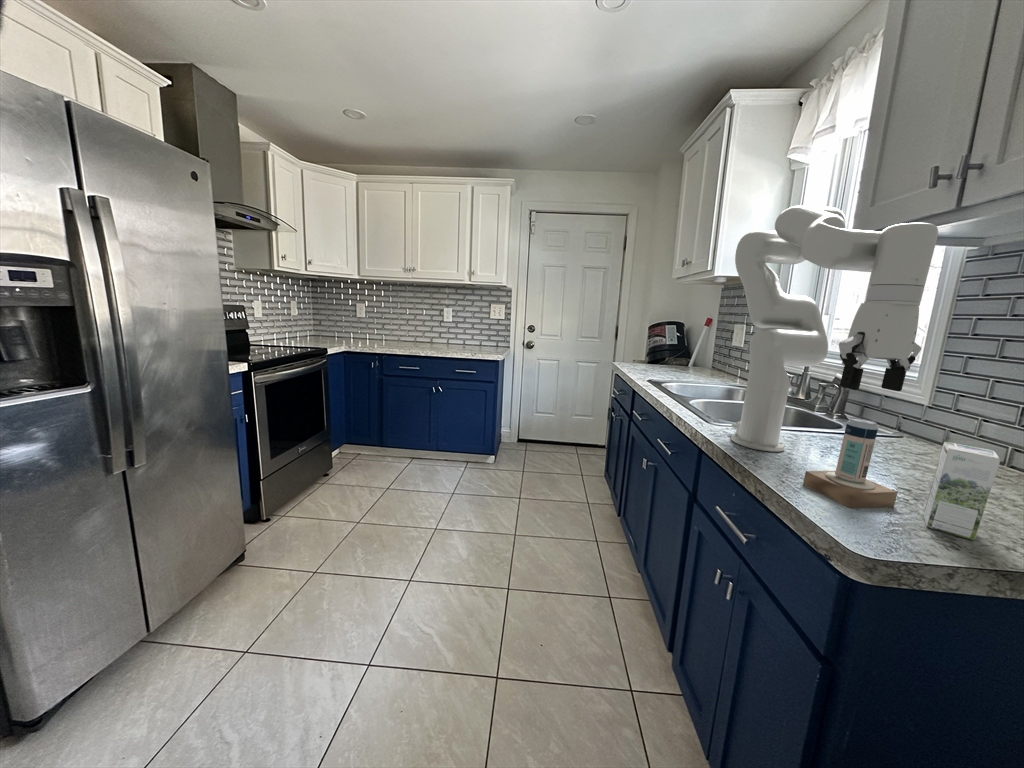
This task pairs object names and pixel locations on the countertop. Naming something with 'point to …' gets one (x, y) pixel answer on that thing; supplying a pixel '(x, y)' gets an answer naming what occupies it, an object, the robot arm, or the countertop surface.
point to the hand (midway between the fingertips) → (870, 389)
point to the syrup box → (960, 489)
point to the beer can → (856, 450)
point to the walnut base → (850, 490)
